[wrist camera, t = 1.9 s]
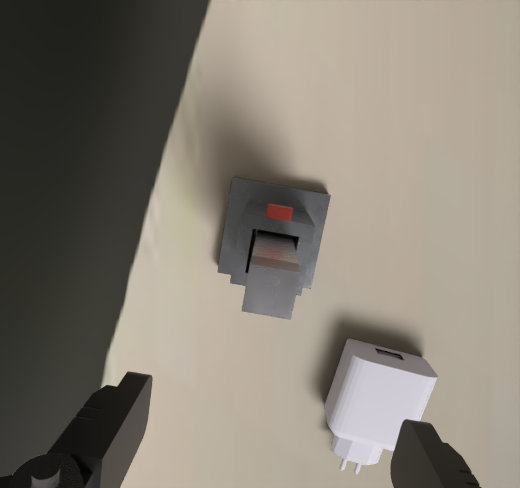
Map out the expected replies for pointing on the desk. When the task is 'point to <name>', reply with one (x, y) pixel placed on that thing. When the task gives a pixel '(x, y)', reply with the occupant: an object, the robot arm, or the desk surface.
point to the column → (272, 276)
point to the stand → (271, 225)
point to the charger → (374, 400)
